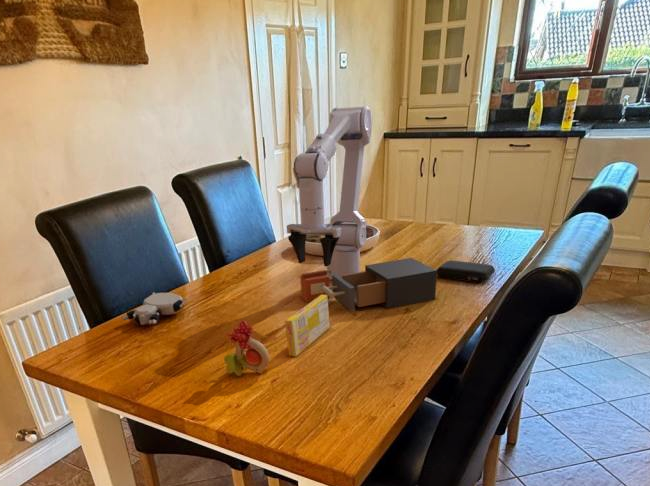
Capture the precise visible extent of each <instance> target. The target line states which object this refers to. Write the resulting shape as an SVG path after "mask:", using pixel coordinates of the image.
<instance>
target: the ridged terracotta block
mask: <svg viewBox="0 0 650 486" xmlns="http://www.w3.org/2000/svg"><path fill="white" fill-rule="evenodd" d="M299 277H300V291H301V299H303V300H304V301H305V302H306V303H310V302H312V301H313V300H314V299H316V298H317V297H319V296H320V295H327V294H326V293H325V292H323V291H322V287H323V286H326V287H330V279H329V276H328V275H327V269H324V270H318V271H311V272H305V273H301V275H300V276H299ZM327 299H331V298H330V297H329V296H328V295H327Z"/></svg>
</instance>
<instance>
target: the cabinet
mask: <svg viewBox="0 0 650 486" xmlns="http://www.w3.org/2000/svg"><path fill="white" fill-rule="evenodd" d="M364 271H371V272H372V273H374V274H375V275H377V276H379V277H380V278H382V279H384V280H385V281H386V302H383V303H379V304H380V305H381V306H383V307H384V308H386V309H392V308H397V307H402V306H408V305H413V304H418V303H424V302H428V301H434V300H436V289H437V280H438V279H437V278H438V275H437V269H435V268H433V267H431V266H430V265H428V264H425V263H423V262H421V261H419V260H416V259H415V258H413V257H408V258H407V257H406V258H402V259H395V260H389V261H384V262H378V263H377V262H376V263H371V264H366V265H364Z"/></svg>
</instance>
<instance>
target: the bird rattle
mask: <svg viewBox="0 0 650 486" xmlns="http://www.w3.org/2000/svg"><path fill="white" fill-rule="evenodd" d="M253 331H254V328H253V327H252V326H251V325H248V324H247V322H246V320H245V319H244V320H241V321H240V323H239V324H238V326H237V327H234V329H233V333H231V332H230V333H229V332H228V333H226V335H227V336H228V337H230V342H231V343H233V344H234V343H236V342H237V344H236V346H235V352H234V353H229V354H226V355H224V358H223V359H224V363H225V364H226V373H227V374H228V375H231V374H233V373H234V374H235V375H236V377H240V376H242V374H243V373H242V372H243V371H242V369H244V368H246V369H247V370H250V371H253V372H256V373H258V374H263V373H264V372H265V371H264V370H265V369H266V368H267V366H268V365H269V362H270V354H269V351H268V349H267V348H266V347H265V346H264V344H263V343H261V341H258V340H257V339H254V338H252V337H251V336H252V334H253ZM246 349H247V350H246Z"/></svg>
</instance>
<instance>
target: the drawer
mask: <svg viewBox="0 0 650 486" xmlns="http://www.w3.org/2000/svg"><path fill="white" fill-rule="evenodd" d="M322 291H323V292H325V293H326V294H327V295H328V296H329V297H330V298H329V299H335V300H337V301H338V302H339V303H340V304H341V305H343V306H344V307H345V308H346V309H347V310H348V311H350V312H352V311H355V310H356V309H355V306H356V307H358V308H360V307H366V306H372V305H373V306H374V305H378V304H380V303H383V302H386V281H385V280H384V279H382V278H380V277H379V276H377V275H375V274H374V273H372V272H371V271H365V270H363V271H360V272H357V273H351V274H345V275H342V278H340V277H339V276H338V275H332V280H331V285H329V287H326V286H323V287H322Z"/></svg>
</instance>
